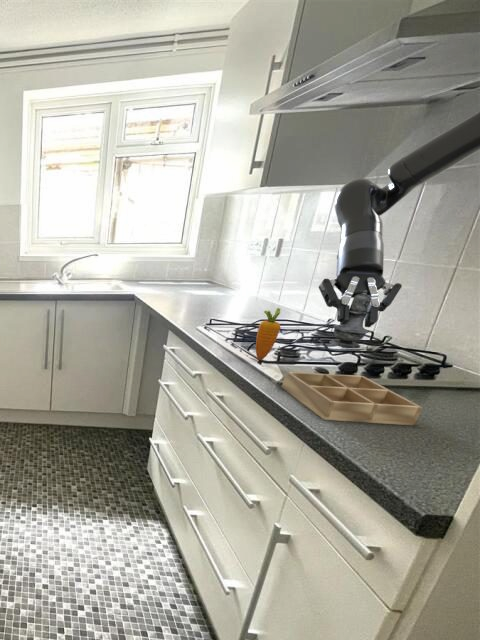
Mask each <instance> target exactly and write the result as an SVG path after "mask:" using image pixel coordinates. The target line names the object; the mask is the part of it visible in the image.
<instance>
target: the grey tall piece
mask: <svg viewBox="0 0 480 640" xmlns="http://www.w3.org/2000/svg"><path fill="white" fill-rule="evenodd" d="M363 292H364V293H362V294H358V295H356V296H355V297H354V298H352V301H351V304H350V306H349V320H348V322H347V323H346V324H345V325H341V324H340V323H339V324H335V325H333V326H332V327H333V335H334V337H335V338H334V339H331V340H329V344H330V345H333V346H336V347H340V348H346V349H360V348H361V345H360V344H359V343H358V341H360V340H363V338H365V336H366V334H369V333H370V332H369V329H366V328H365V327H364V322H365V316H366V314H368V312H367V310H368V307H369V305H370V302H371V300H372V298H371V296H369V295H368V294H366V292H367V290H364V291H363Z"/></svg>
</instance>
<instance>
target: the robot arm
mask: <svg viewBox="0 0 480 640" xmlns="http://www.w3.org/2000/svg"><path fill="white" fill-rule="evenodd" d="M479 151H480V111H478V112H476V113H475V114H473V115H472V116H470V117H468V118H466V119H464V120H463V121H461V122H459V123H457V124H456V125H454V126H452V127H450V128H448V129H446V130H445V131H443V132H441V133H440V134H438V135H437V136H435V137H433V138H431V139H429V140H428V141H426V142H425V143H423V144H421V145H420V146H418V147H416V148H415V149H414V150H412V151H410V152H408V153H407V154H406V155H404V156H402V157H401V158H399V159H397V160H396V161H394V162H393V163H392V164H391V165H390V166H389V167H388V168H387V176H388V179H389V182H388V183H387V184H386V185H385V186H382V187H380V186H379V185H377V184H376V183H375V182H373V181H372V180H370V179H368V178H363V177H361V178H355V179H352V180H350V181H348V182H347V183H345V184H343V186H342V187H341V188H340V189H339V191H338V192H337V193H336V196H335V200H334V211H335V214H336V215H335V216H336V218H337V222H338V225H339V227H340V234H339V235H340V236H339V245H338V249H337V254H336V274H335V275H336V276H335V279H334V278H333V279H329V278H324V279H323V280H321V282H320V284H319V285H318V290H319V291H320V294H321V296H322V299H323V301H324V303H325V304H326V306H327V307H329V308H336V310H337V311H336V321H337V322H338V323H339V325H340V324H341V325H345V324H346V323H347V322H348V320H349V309H350V306H351V304H350V301H351V299H354V297H355V296H356V295H358V294H362V293H364V292H363V291H364V290H367V292H366V294H368V295H369V296H371V298H372V300H371V302H370V305H369V307H368V310H367V312H368V314H366V316H365V318H364V328H371V327H373V326H374V325H375V324H376V323H377V322H378V320H379V312H384V311H386V309H387V308H389V306H391V305H392V303H393V302H394V300H395V299H396V296H397V295H398V293H399V292H400V290H401V289H402V287H403V285H402V284H401V283H399V282H397V283H396V282H395V284H392V283H388V282H386V279H385V278H384V256H385V254H384V252H385V244H384V239H383V231H384V229H383V227H384V226H383V224H384V223H383V219H382V217H381V216H383V215H384V214H385V213H387V212H388V211H390V209H392V208H393V207H394V206H395V205H396V204H398V202H400V201H401V200H403V199H404V198H405V197H406V196H407V195H408V194H410V193H411V192H412V191H413V190H415V189H416V188H417V187H419V186H421V185H423V184H424V183H426V182H428V181H429V180H431V179H434V178H435V177H437V176H439V175H440V174H443V173H444V172H446V171H447V170H449V169H451V168H452V167H454V166H456V165H457V164H459V163H461V162H462V161H464V160H465V159H468V158H469V157H470V156H472V155H474V154H475V153H477V152H479ZM335 288H336V289H337V290H338V291H339V292H340V293H341V294H340V297H339V296H338V295H337V292H336V289H335ZM381 289H382V290H383V291H382V293H383V295H384V297H383V299H382V300H381V301H380V300H379V292H378V291H379V290H381ZM349 304H350V305H349Z"/></svg>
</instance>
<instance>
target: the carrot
mask: <svg viewBox="0 0 480 640" xmlns="http://www.w3.org/2000/svg"><path fill="white" fill-rule="evenodd" d="M263 313H264V314H265V315H266V317H267V320H262V321H261V322H260V323H259V326H258V330H257V334H256V338H255V340H256V342H255V356H256V358H257V361H258V362H261V361H263V360H264V359H265V358H266V357H267V356H268V354H269V353H270V352H271V350H272V348H273V347H274V345H275V343H276V341H277V338H278V336H279V334H280V330H281V323H280V322H278V321H276V320H277V319H278V317H279V315H280V314H281V308H279V307H277V308H276V309H275V311H274V314H272V312H271V310H264V311H263Z"/></svg>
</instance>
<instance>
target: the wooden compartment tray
mask: <svg viewBox="0 0 480 640" xmlns="http://www.w3.org/2000/svg"><path fill="white" fill-rule="evenodd" d="M281 388H282V389H283V390H284V391H285V392H287V393H288V394H289V395H291V396H292V397H293V398H294V399H296V400H297V401H299V402H300V403H301V404H302V405H304V406H305V407H306V408H308V409H309V410H311V411H312V412H313V413H314V414H316V415H317V416H319V417H320V418H321V419H323V420H325V421H338V422H354V423H355V422H356V423H367V424H368V423H370V424H384V425H397V426H399V425H400V426H415V424H416V423H417V420H418V419H419V417H420V414H421V412H422V410H423V408H424V407H422V406H421V405H418V404H417V403H415V402H413V401H411V400H410V399H407V398H406V397H404V396H402V395H400V394H398V393H397V392H394V391H393V390H391V389H389V388H388V387H385V386H383V385H381V384H379V383H378V382H376V381H374V380H372V379H370V378H368V377H366V376H364V375H353V374H352V375H351V374H336V373H334V374H332V373H315V372H297V371H286V373H285V375H284V378H283V381H282V384H281Z"/></svg>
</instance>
